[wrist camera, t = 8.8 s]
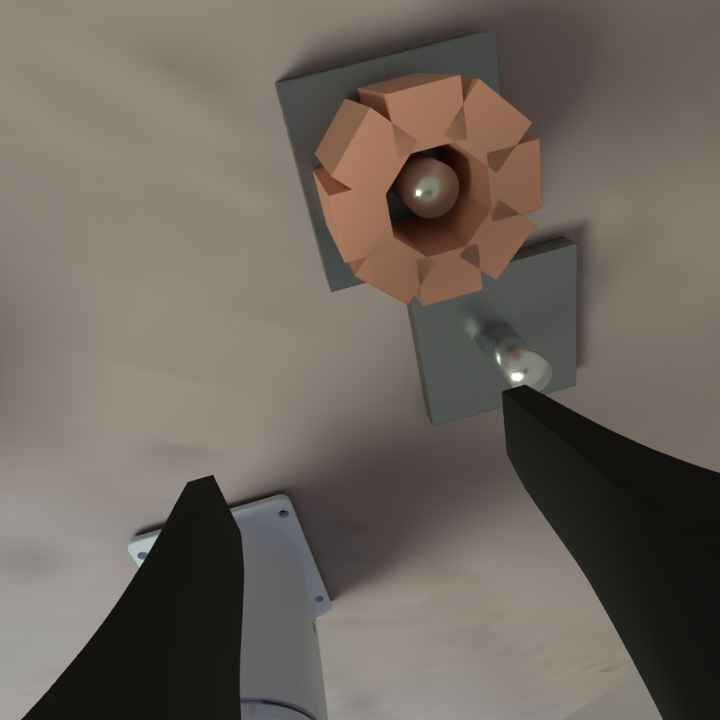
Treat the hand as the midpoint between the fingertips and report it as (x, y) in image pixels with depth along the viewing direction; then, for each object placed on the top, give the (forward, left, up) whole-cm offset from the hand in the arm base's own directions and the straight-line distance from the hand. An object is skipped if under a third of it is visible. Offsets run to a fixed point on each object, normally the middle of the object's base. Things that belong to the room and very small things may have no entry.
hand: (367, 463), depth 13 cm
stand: (-3, -7, -10) cm, 13 cm away
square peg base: (+5, -4, -10) cm, 12 cm away
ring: (+4, -4, -8) cm, 10 cm away
